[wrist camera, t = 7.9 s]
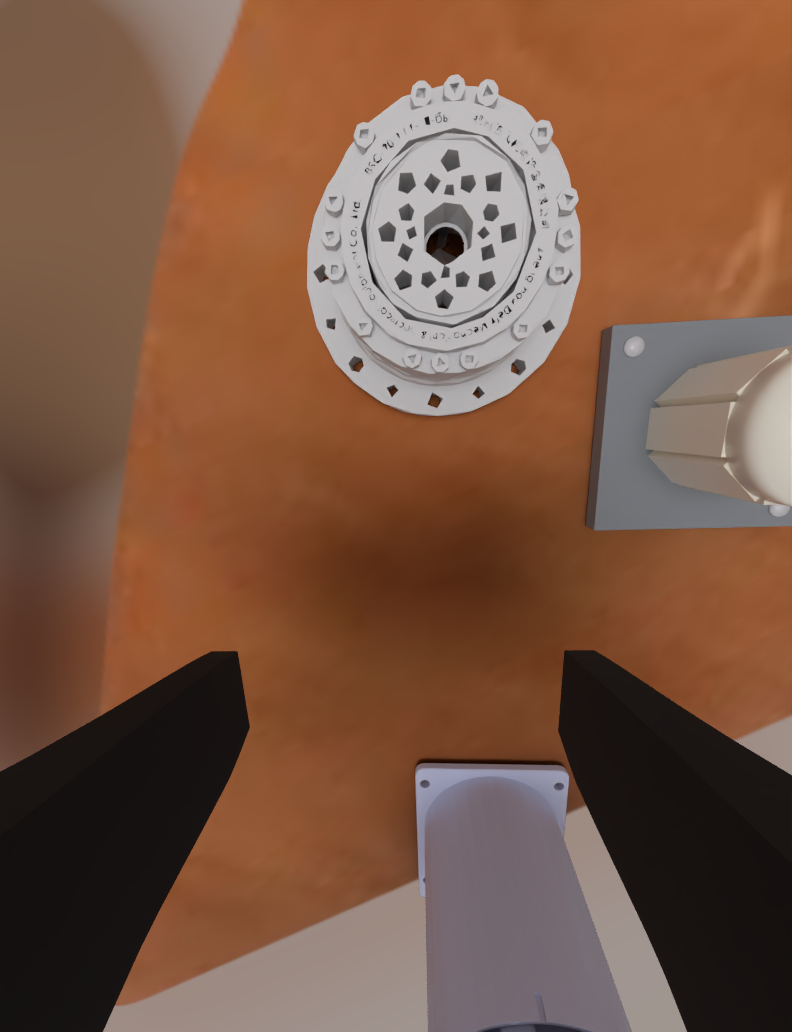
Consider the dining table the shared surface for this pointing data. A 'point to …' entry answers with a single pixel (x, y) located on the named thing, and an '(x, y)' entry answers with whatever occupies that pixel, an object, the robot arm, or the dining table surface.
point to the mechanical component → (450, 280)
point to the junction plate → (625, 418)
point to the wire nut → (729, 428)
